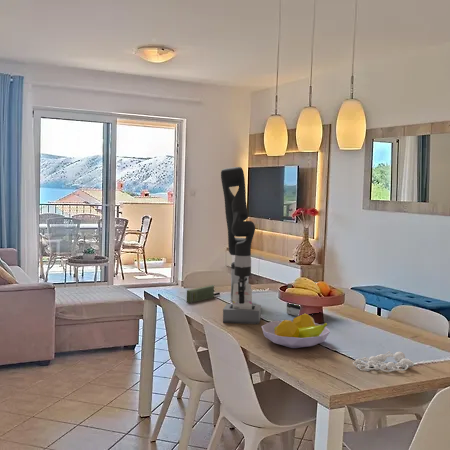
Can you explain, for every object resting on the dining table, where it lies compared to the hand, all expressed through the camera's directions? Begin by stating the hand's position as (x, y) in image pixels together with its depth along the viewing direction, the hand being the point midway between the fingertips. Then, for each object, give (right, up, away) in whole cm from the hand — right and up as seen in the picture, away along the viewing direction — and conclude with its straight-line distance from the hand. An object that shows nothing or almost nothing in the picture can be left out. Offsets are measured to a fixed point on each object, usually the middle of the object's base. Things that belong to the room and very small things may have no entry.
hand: (242, 301), depth 256 cm
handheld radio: (-19, -5, +45) cm, 49 cm away
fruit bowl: (+20, -12, -35) cm, 42 cm away
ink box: (0, -6, +1) cm, 6 cm away
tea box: (+30, -8, +15) cm, 35 cm away
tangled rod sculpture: (+47, -15, -62) cm, 80 cm away
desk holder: (0, -8, +1) cm, 8 cm away
